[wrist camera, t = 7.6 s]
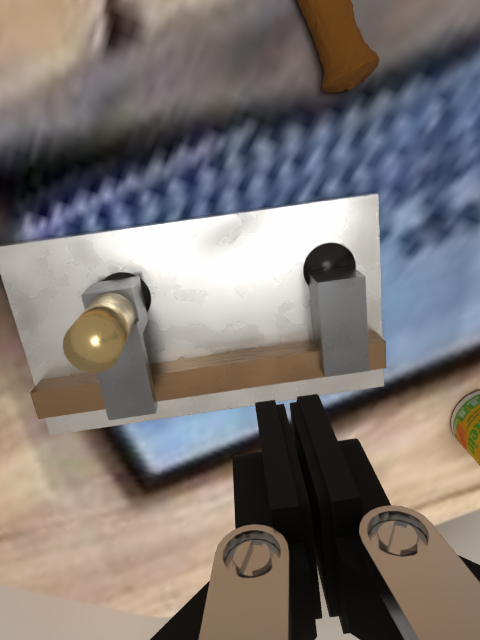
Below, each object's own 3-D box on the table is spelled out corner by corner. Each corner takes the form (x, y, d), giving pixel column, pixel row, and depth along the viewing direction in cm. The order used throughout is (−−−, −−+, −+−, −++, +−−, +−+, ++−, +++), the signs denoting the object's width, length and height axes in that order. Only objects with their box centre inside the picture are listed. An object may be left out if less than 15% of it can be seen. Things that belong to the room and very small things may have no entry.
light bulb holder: (140, 274, 30) (115, 314, 22) (162, 383, 33) (147, 453, 25) (94, 280, 30) (53, 323, 22) (120, 389, 33) (92, 461, 25)
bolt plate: (370, 192, 31) (396, 196, 27) (377, 377, 36) (399, 406, 31) (2, 243, 31) (-31, 256, 26) (56, 424, 35) (35, 459, 31)
